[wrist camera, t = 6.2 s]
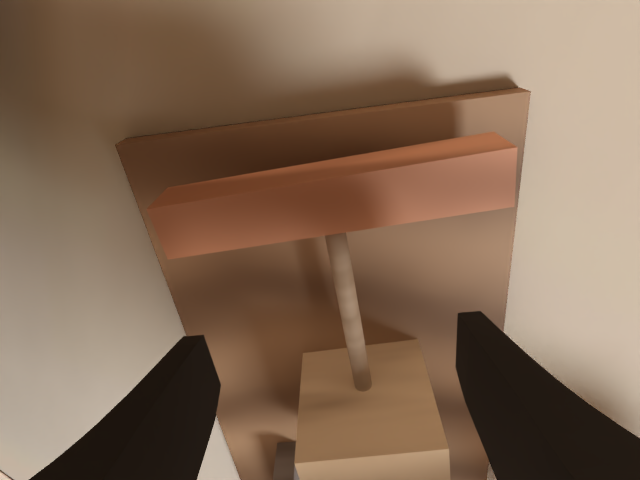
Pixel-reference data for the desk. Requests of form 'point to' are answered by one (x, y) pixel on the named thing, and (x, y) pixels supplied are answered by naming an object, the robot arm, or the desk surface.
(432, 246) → the lane board
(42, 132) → the desk surface
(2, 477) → the gable box
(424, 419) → the block
